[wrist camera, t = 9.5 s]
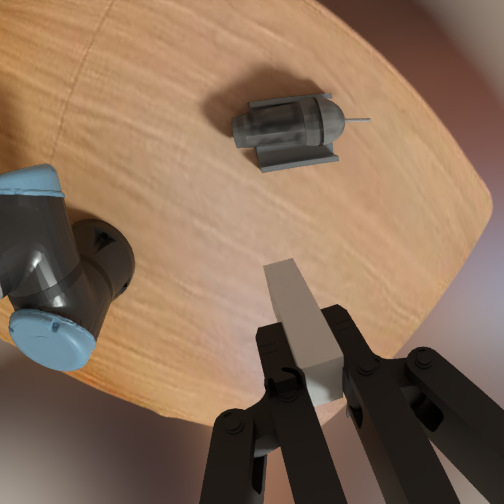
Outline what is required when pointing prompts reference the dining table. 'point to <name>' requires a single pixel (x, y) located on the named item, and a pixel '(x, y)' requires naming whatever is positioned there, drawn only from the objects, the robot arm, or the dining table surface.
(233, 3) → the dining table surface
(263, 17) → the dining table surface
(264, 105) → the cradle
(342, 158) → the dining table surface
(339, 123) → the beverage cup
